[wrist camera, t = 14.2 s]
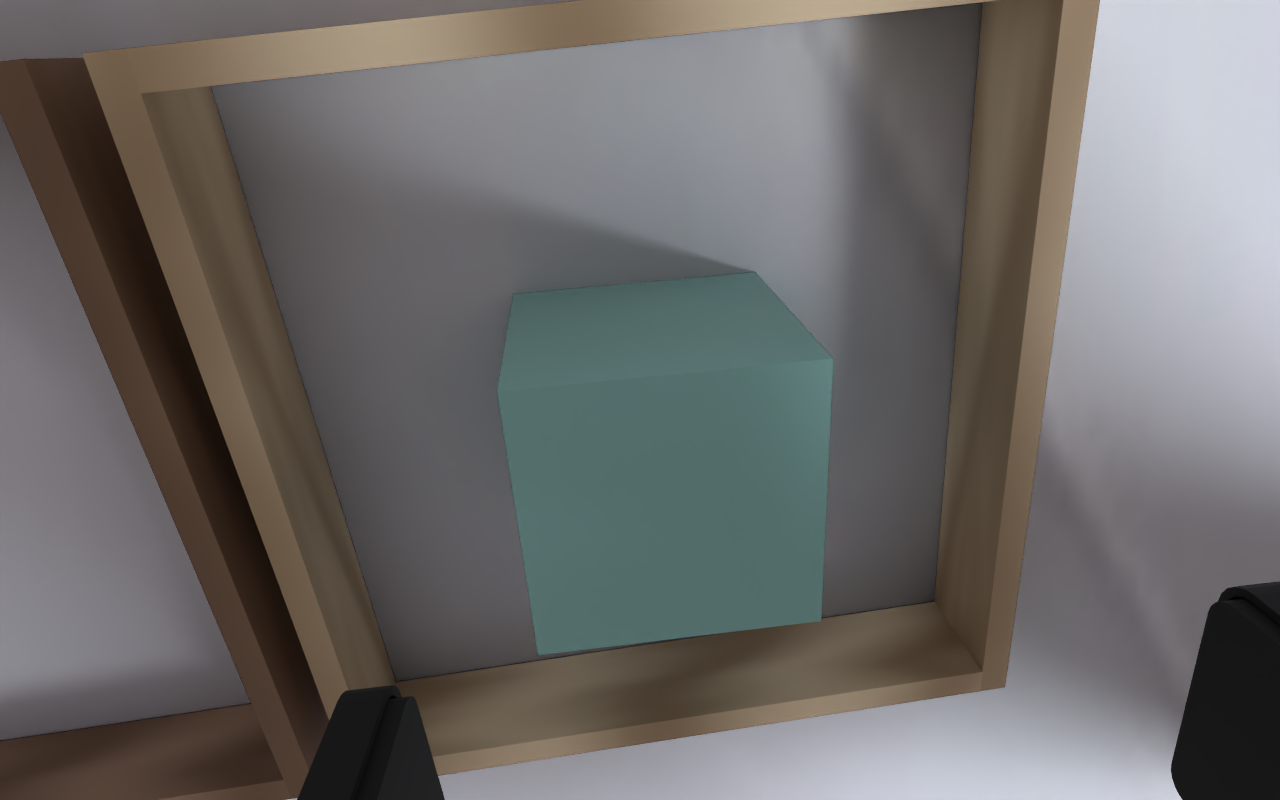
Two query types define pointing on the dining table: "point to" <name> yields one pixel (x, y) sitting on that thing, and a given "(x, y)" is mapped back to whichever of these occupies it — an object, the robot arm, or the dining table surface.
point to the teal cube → (666, 459)
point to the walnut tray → (187, 476)
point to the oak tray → (675, 670)
